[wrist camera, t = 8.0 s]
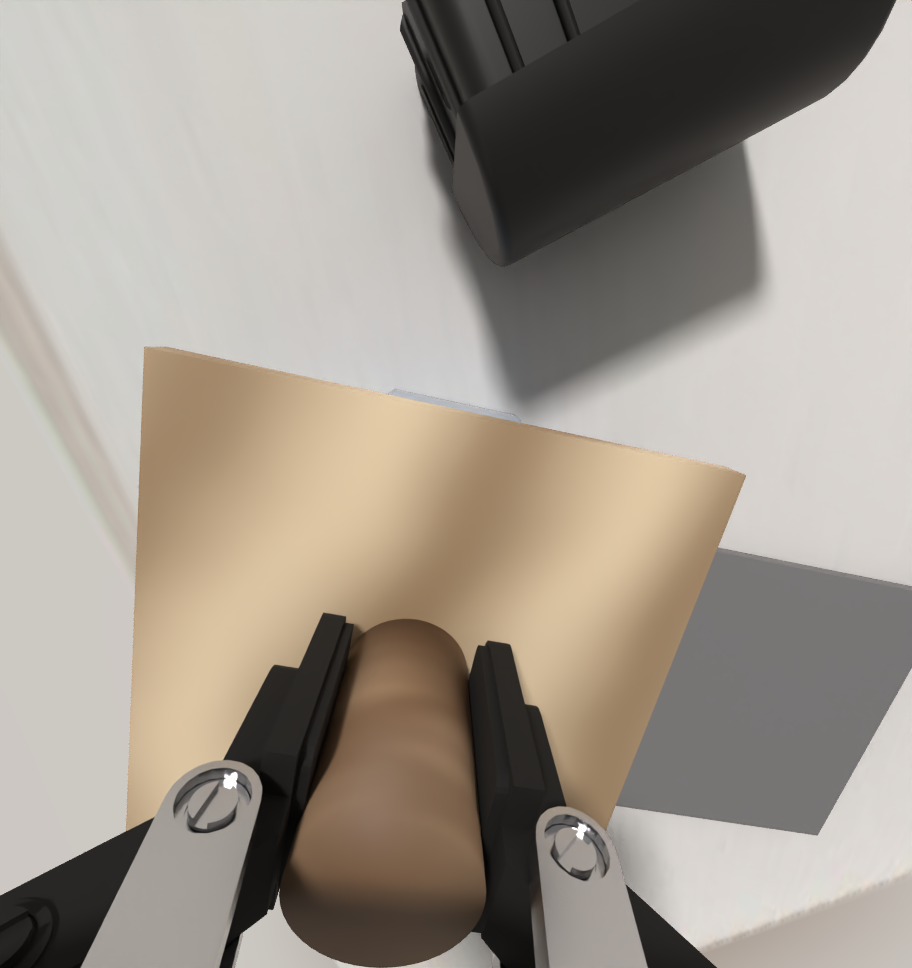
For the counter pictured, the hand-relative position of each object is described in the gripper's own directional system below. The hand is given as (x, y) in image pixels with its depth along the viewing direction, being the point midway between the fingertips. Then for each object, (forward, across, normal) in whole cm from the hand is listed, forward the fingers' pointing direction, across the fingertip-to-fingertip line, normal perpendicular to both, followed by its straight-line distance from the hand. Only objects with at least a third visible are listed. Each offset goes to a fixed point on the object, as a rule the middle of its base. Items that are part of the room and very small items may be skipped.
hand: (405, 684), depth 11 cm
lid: (+1, 0, 0) cm, 1 cm away
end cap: (+9, -2, -16) cm, 19 cm away
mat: (+9, -16, +5) cm, 19 cm away
